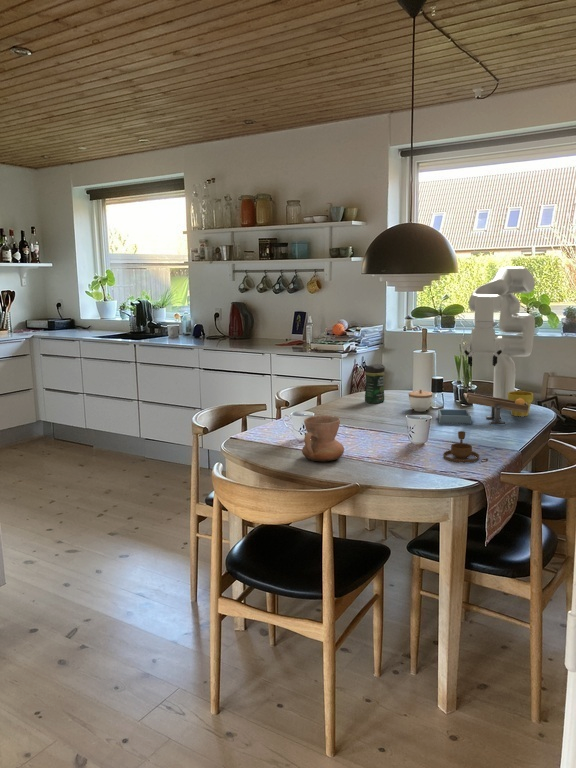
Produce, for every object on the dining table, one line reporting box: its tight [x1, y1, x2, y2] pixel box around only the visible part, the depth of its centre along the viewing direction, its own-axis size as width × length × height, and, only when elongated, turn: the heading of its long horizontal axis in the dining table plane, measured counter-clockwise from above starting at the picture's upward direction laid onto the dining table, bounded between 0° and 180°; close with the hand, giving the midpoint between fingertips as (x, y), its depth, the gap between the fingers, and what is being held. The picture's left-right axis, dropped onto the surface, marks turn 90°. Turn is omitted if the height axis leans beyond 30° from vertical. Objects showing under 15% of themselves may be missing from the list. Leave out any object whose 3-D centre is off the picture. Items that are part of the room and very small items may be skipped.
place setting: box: [443, 430, 489, 464], centre depth 216 cm, size 18×20×6 cm
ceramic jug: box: [301, 414, 345, 463], centre depth 215 cm, size 18×14×14 cm
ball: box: [515, 398, 525, 405], centre depth 259 cm, size 4×4×4 cm
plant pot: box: [508, 390, 534, 418], centre depth 271 cm, size 10×10×10 cm
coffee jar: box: [364, 363, 386, 404], centre depth 303 cm, size 10×8×19 cm
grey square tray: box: [437, 408, 472, 425], centre depth 264 cm, size 12×12×4 cm
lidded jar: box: [408, 389, 434, 412], centre depth 285 cm, size 11×11×9 cm
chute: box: [463, 392, 529, 413], centre depth 265 cm, size 15×24×4 cm, turn 81°
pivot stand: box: [485, 405, 506, 425], centre depth 261 cm, size 11×6×8 cm, turn 171°
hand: (482, 365), depth 264 cm, fingers open, 9 cm apart
